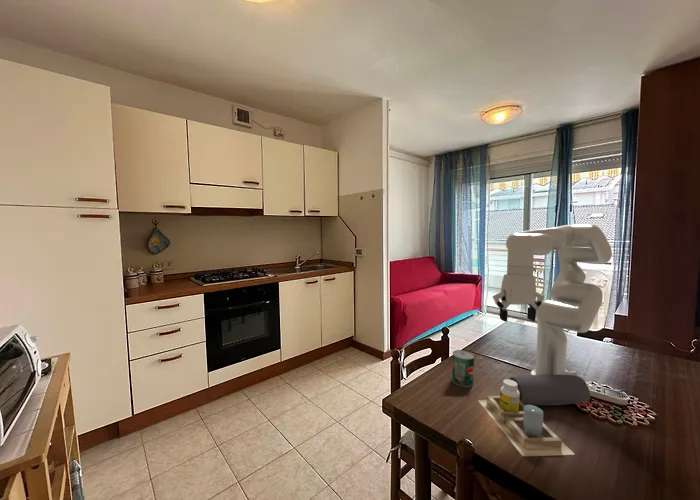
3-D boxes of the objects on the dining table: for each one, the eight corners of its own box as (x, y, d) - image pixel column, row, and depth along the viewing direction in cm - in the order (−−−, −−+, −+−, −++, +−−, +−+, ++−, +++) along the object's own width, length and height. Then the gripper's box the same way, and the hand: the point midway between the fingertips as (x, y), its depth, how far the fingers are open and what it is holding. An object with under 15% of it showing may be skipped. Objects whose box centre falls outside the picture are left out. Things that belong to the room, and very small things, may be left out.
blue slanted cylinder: (534, 430, 82) (535, 404, 82) (546, 442, 78) (547, 415, 77) (518, 431, 82) (520, 405, 82) (529, 443, 78) (531, 415, 77)
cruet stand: (477, 403, 97) (477, 393, 97) (517, 402, 98) (517, 392, 98) (522, 460, 73) (523, 447, 73) (575, 458, 74) (575, 445, 74)
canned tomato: (475, 388, 107) (476, 359, 106) (453, 385, 108) (454, 357, 107) (471, 377, 114) (471, 350, 114) (450, 375, 116) (451, 349, 115)
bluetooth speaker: (567, 395, 102) (569, 368, 101) (590, 412, 92) (592, 382, 92) (505, 397, 101) (506, 369, 100) (522, 414, 91) (524, 384, 91)
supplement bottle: (495, 406, 94) (497, 378, 93) (511, 406, 94) (513, 377, 93) (505, 417, 88) (507, 387, 87) (522, 417, 88) (524, 387, 88)
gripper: (536, 269, 100) (534, 316, 102) (488, 269, 100) (487, 317, 101) (552, 272, 93) (549, 323, 94) (500, 272, 92) (498, 324, 94)
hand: (517, 320), depth 98 cm, fingers open, 9 cm apart
